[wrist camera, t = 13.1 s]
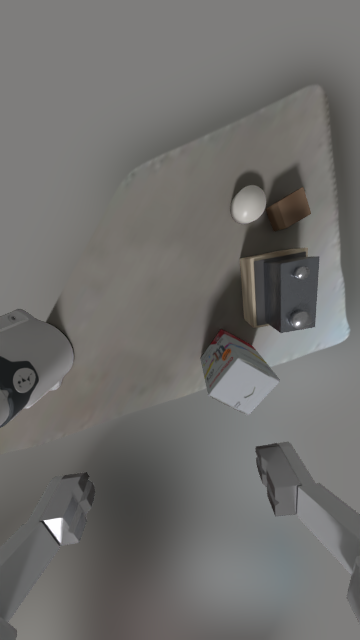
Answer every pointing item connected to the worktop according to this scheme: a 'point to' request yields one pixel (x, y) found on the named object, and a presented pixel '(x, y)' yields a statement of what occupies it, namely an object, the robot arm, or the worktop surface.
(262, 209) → the white egg shape
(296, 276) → the block
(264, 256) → the stand
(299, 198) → the walnut block
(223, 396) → the ink box
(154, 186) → the worktop surface
